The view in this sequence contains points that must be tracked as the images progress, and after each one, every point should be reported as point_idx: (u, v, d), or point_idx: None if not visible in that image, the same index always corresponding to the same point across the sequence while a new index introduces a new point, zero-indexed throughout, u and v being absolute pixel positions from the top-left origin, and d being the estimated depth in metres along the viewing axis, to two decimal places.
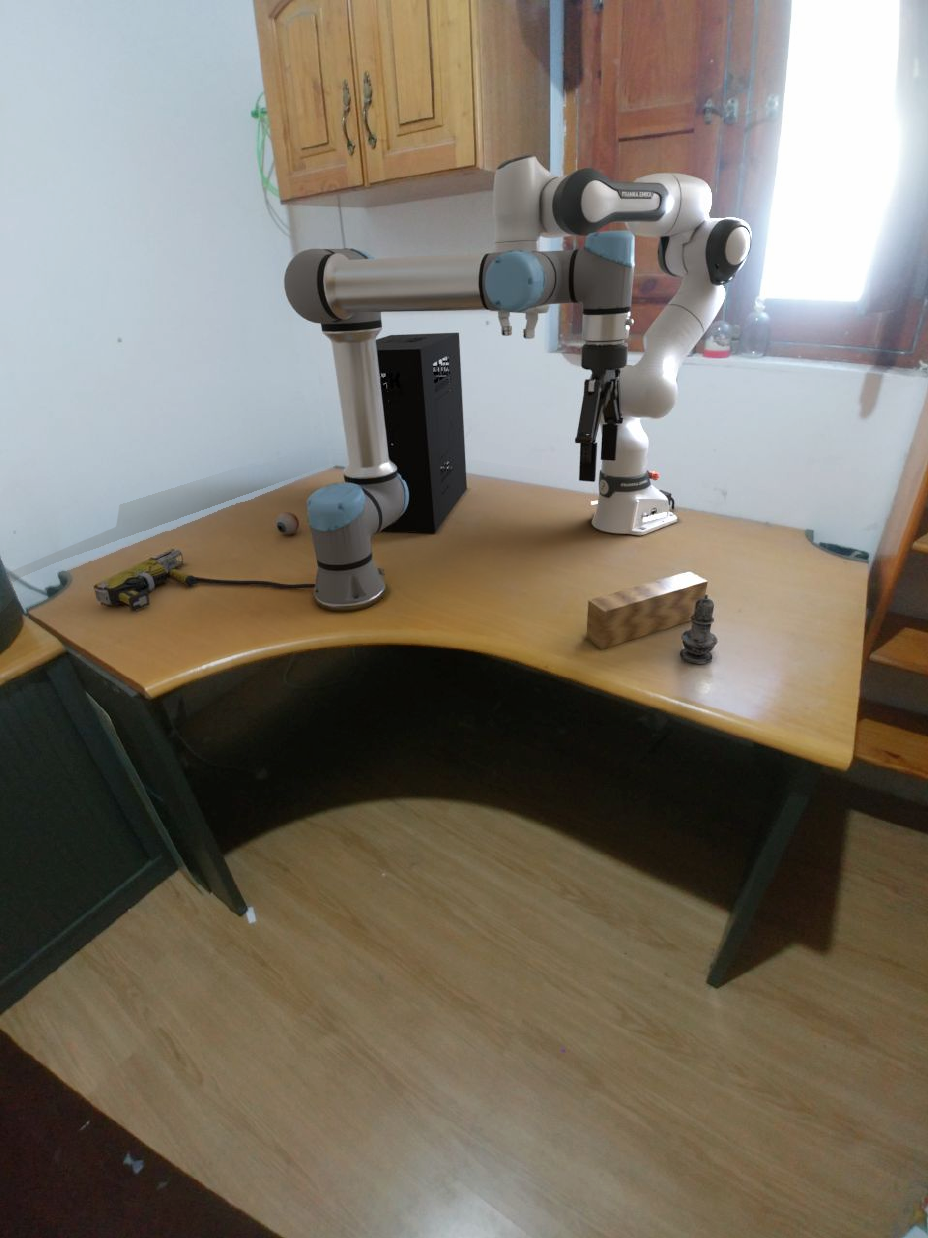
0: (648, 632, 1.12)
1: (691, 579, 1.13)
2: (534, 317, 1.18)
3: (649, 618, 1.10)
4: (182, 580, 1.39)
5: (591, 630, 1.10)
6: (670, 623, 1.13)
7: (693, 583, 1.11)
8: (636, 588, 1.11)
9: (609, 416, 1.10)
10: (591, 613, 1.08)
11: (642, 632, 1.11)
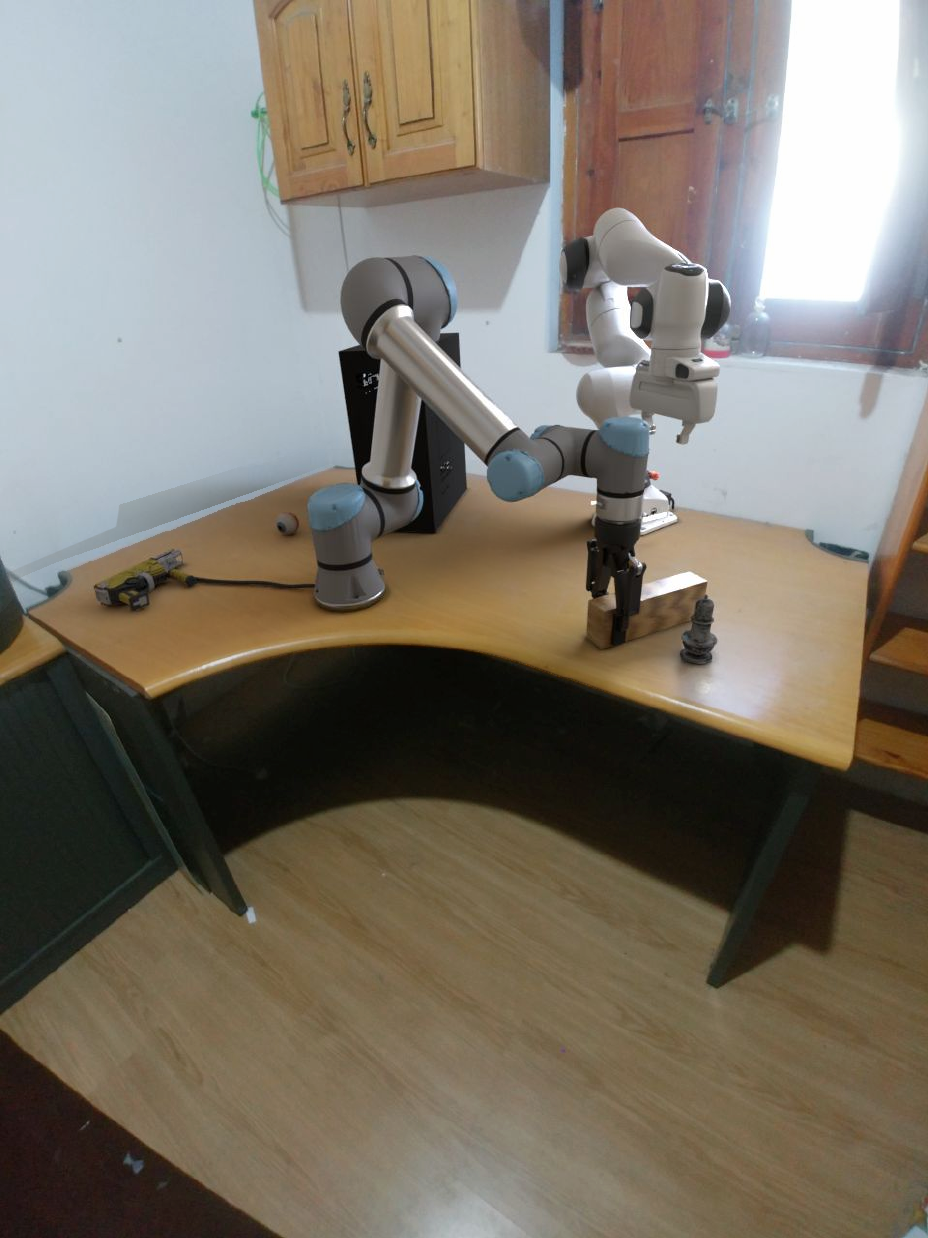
0: (648, 632, 1.12)
1: (691, 579, 1.13)
2: None
3: (649, 618, 1.10)
4: (182, 580, 1.39)
5: (591, 630, 1.10)
6: (670, 623, 1.13)
7: (693, 583, 1.11)
8: None
9: None
10: (591, 613, 1.08)
11: (642, 632, 1.11)
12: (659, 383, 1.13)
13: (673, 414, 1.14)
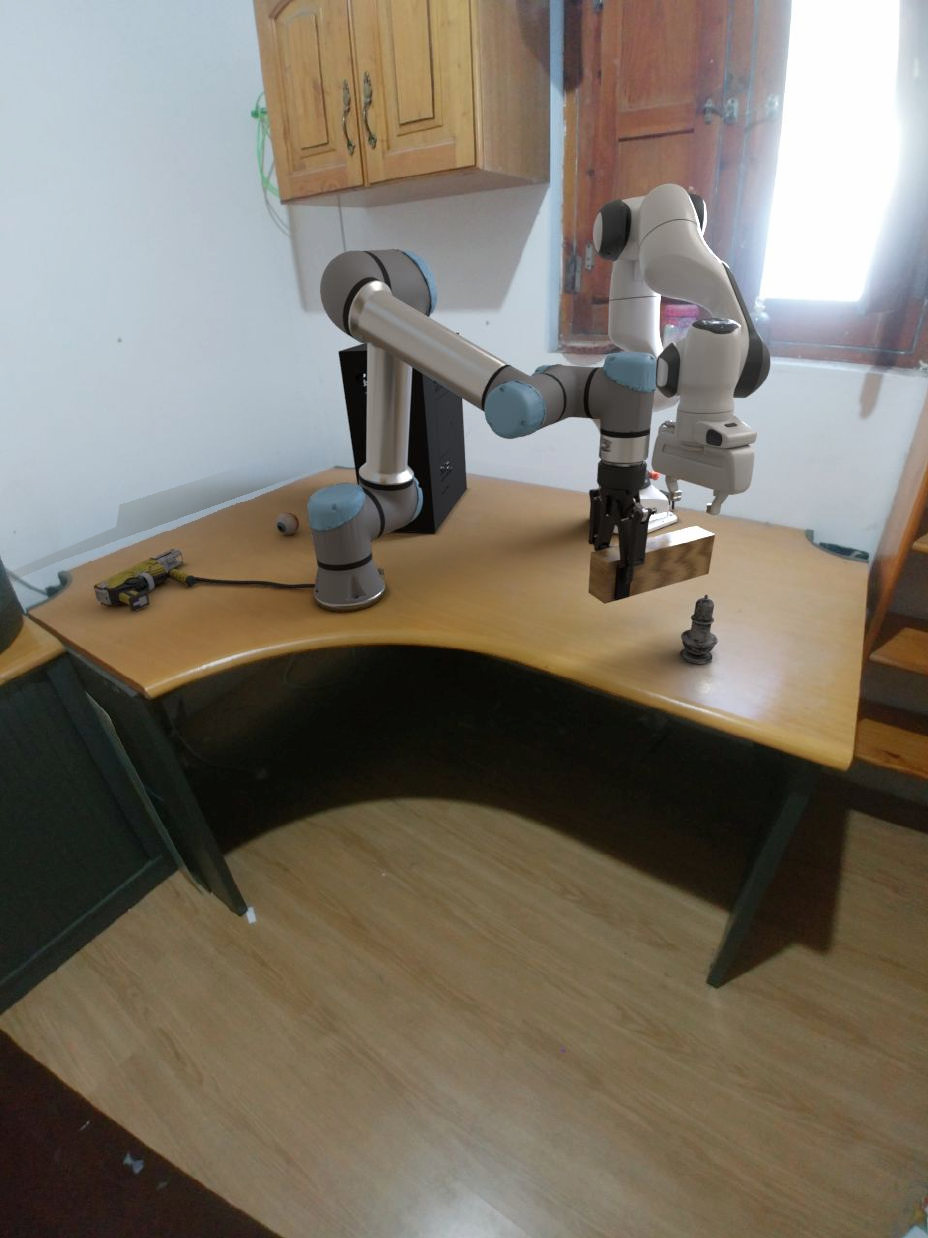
0: (653, 587, 1.07)
1: (698, 533, 1.08)
2: None
3: (654, 572, 1.05)
4: (182, 580, 1.39)
5: (594, 584, 1.05)
6: (676, 579, 1.08)
7: (700, 537, 1.07)
8: None
9: None
10: (594, 566, 1.04)
11: (647, 587, 1.06)
12: (687, 448, 1.01)
13: (702, 483, 1.02)
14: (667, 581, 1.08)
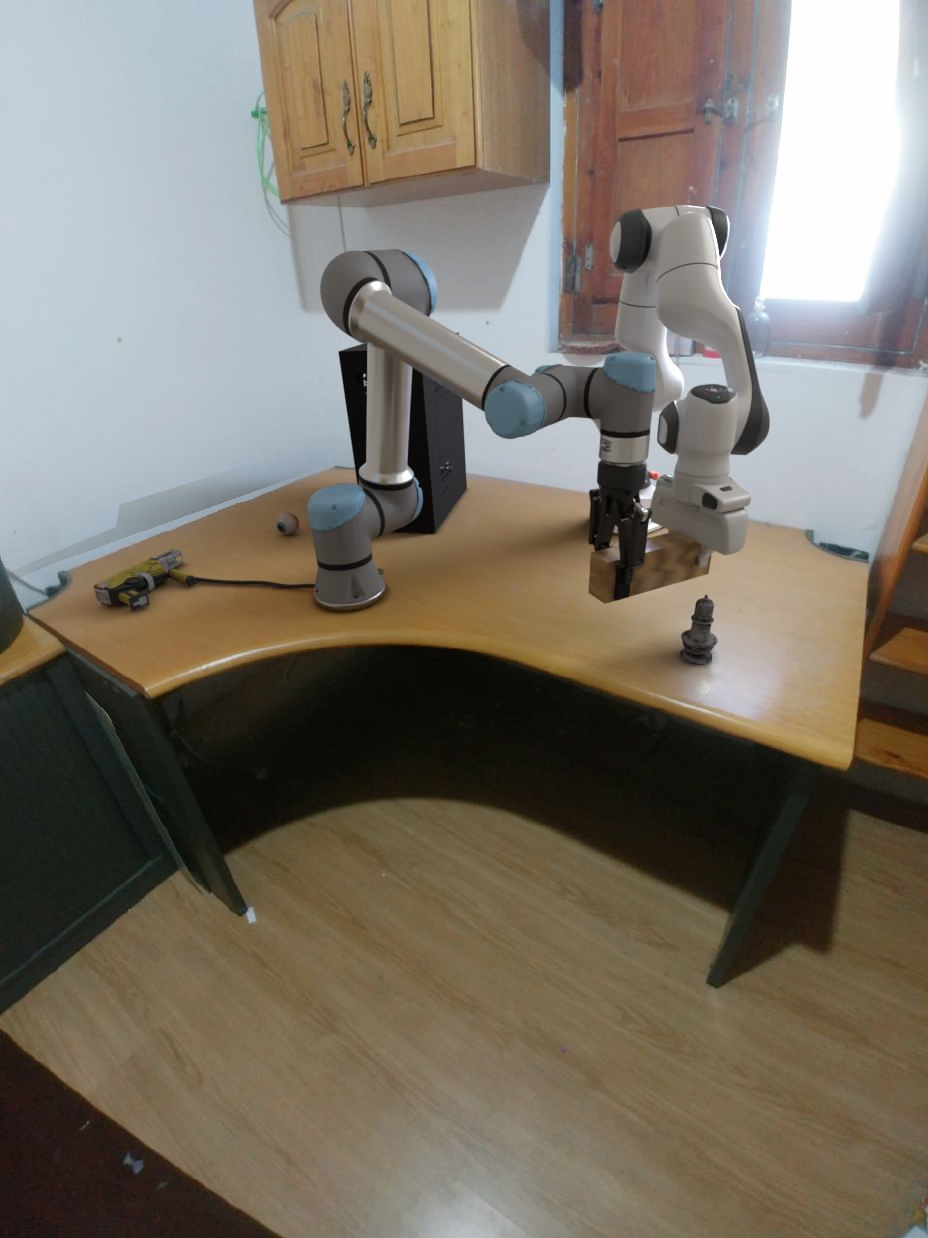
0: (653, 587, 1.07)
1: None
2: None
3: (654, 572, 1.05)
4: (182, 580, 1.39)
5: (594, 584, 1.05)
6: (676, 579, 1.08)
7: None
8: None
9: None
10: (594, 566, 1.04)
11: (647, 587, 1.06)
12: (683, 507, 1.04)
13: (698, 540, 1.05)
14: (667, 581, 1.08)
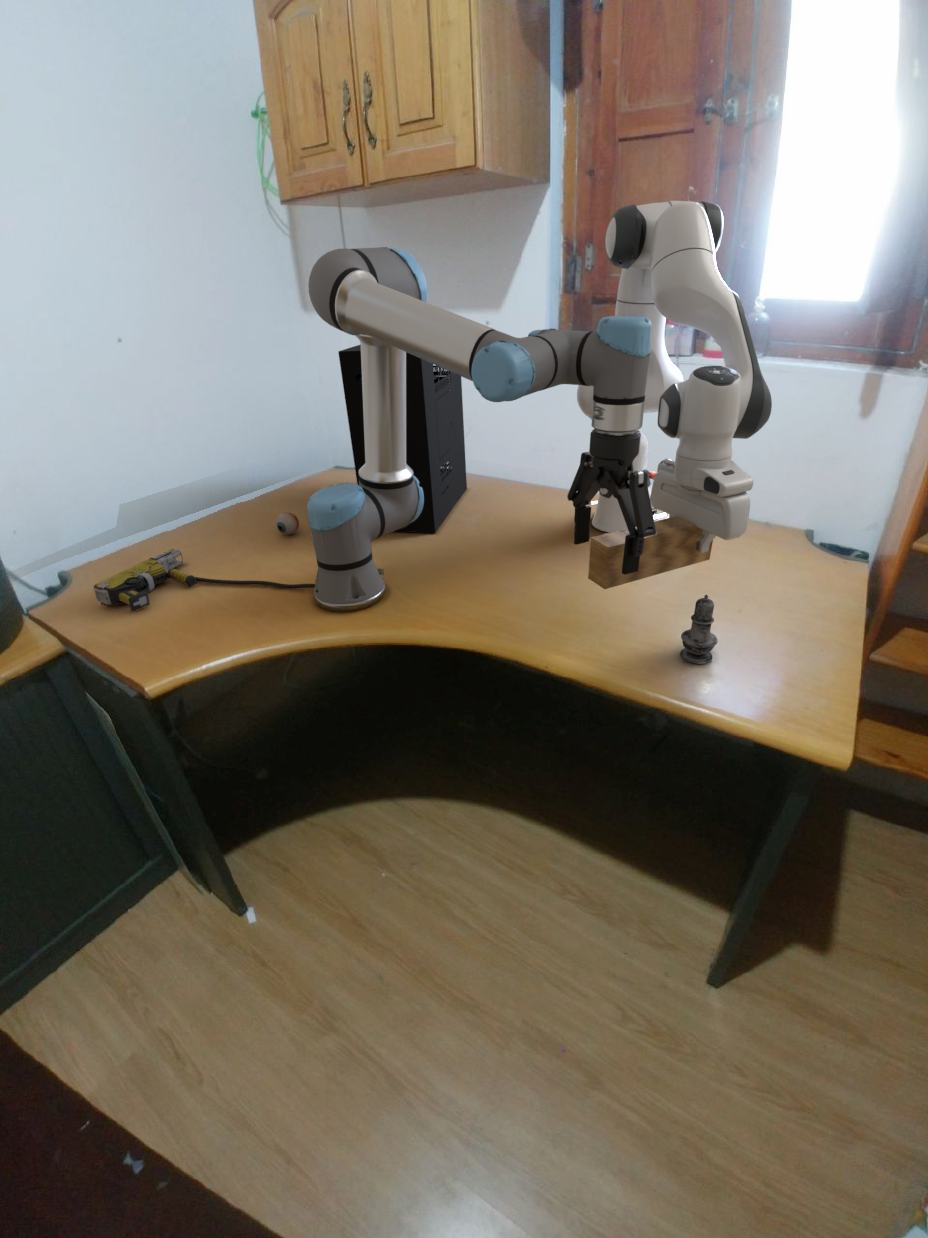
0: (653, 573, 1.06)
1: None
2: None
3: (655, 557, 1.04)
4: (182, 580, 1.39)
5: (593, 570, 1.04)
6: (677, 564, 1.07)
7: None
8: None
9: None
10: (594, 551, 1.03)
11: (647, 572, 1.05)
12: (685, 491, 1.03)
13: (699, 525, 1.04)
14: (668, 567, 1.07)
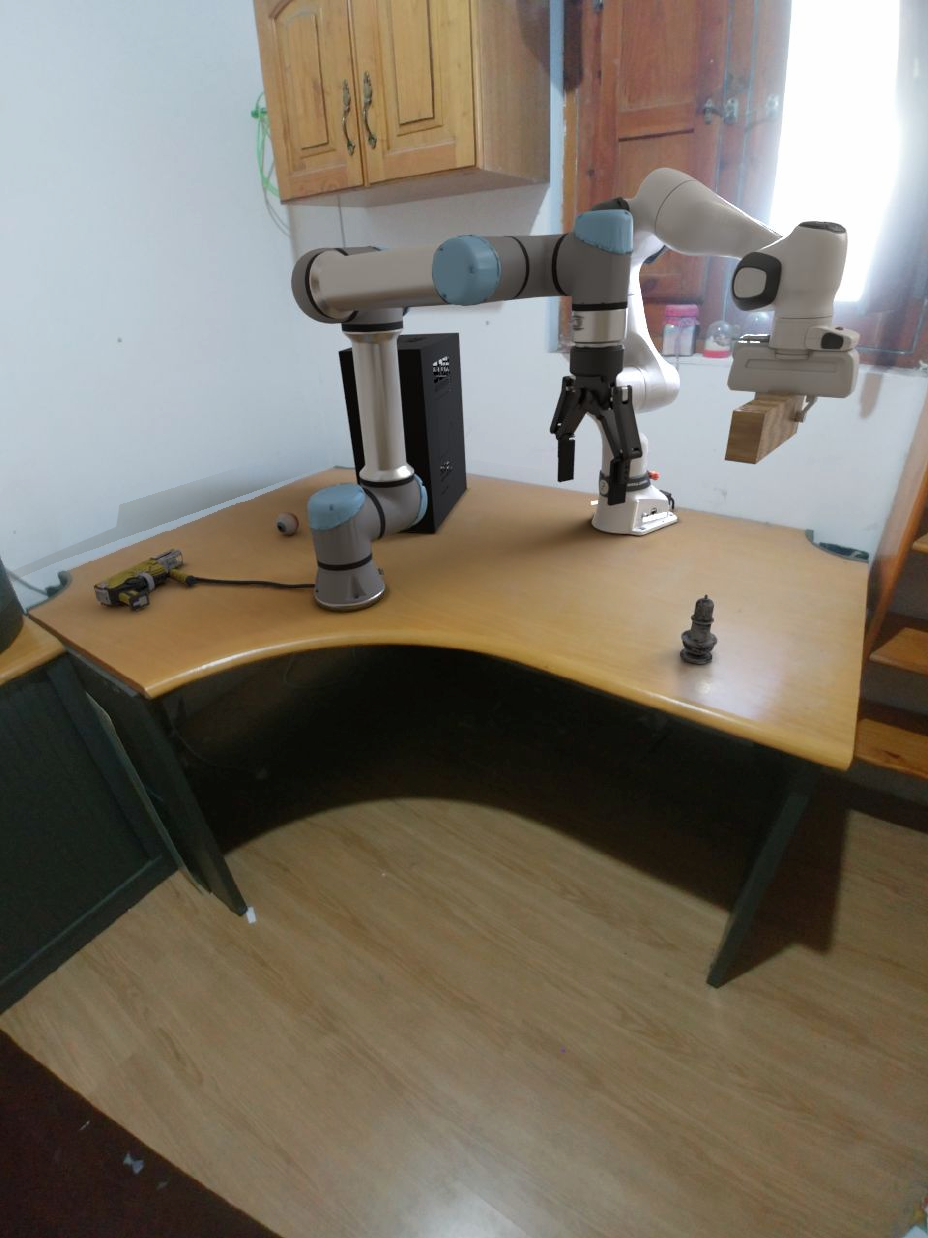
0: (775, 446, 1.02)
1: None
2: None
3: (779, 428, 1.00)
4: (182, 580, 1.39)
5: (736, 447, 0.96)
6: (785, 437, 1.05)
7: None
8: (758, 398, 1.01)
9: None
10: (738, 425, 0.95)
11: (773, 445, 1.01)
12: (790, 358, 1.01)
13: (805, 391, 1.03)
14: (781, 439, 1.04)
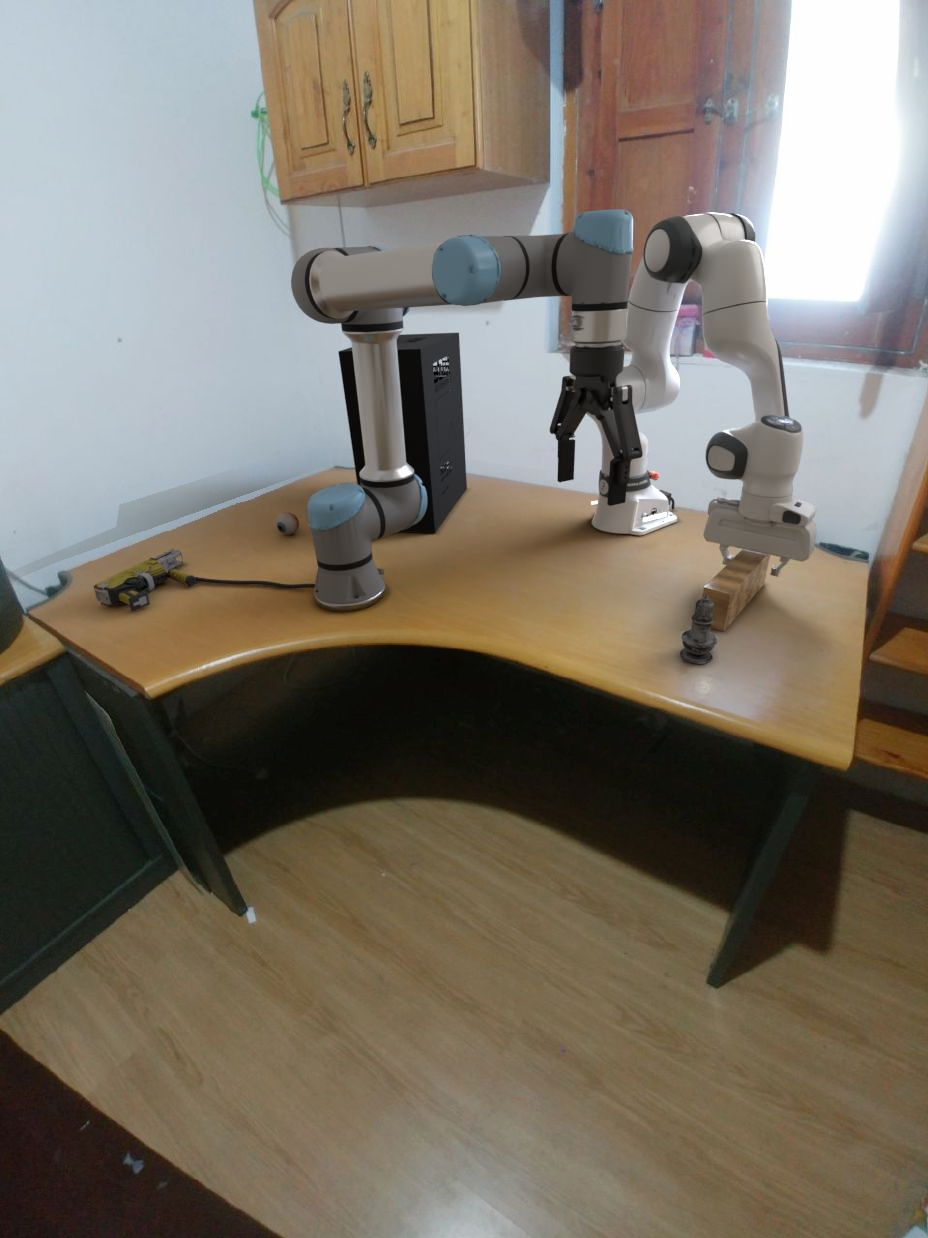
0: (743, 607, 1.18)
1: None
2: None
3: (745, 593, 1.16)
4: (182, 580, 1.39)
5: None
6: (752, 594, 1.21)
7: (764, 554, 1.21)
8: (727, 567, 1.16)
9: None
10: None
11: (741, 608, 1.17)
12: (756, 525, 1.16)
13: (770, 552, 1.18)
14: (749, 598, 1.20)
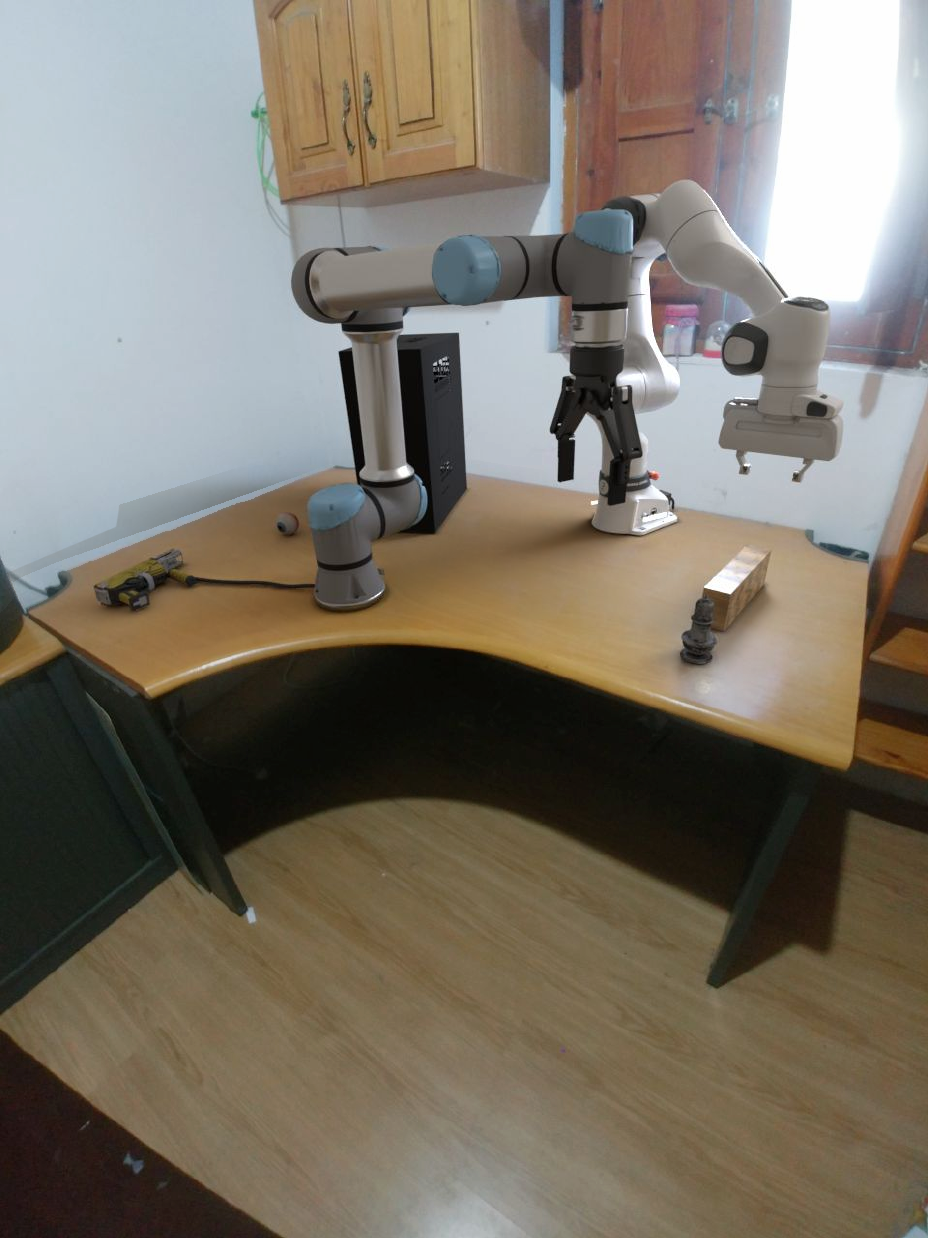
0: (743, 607, 1.18)
1: (758, 551, 1.22)
2: None
3: (745, 593, 1.16)
4: (182, 580, 1.39)
5: None
6: (752, 594, 1.21)
7: (764, 554, 1.21)
8: (727, 567, 1.16)
9: None
10: None
11: (741, 608, 1.17)
12: (778, 422, 1.06)
13: (792, 453, 1.08)
14: (749, 598, 1.20)
